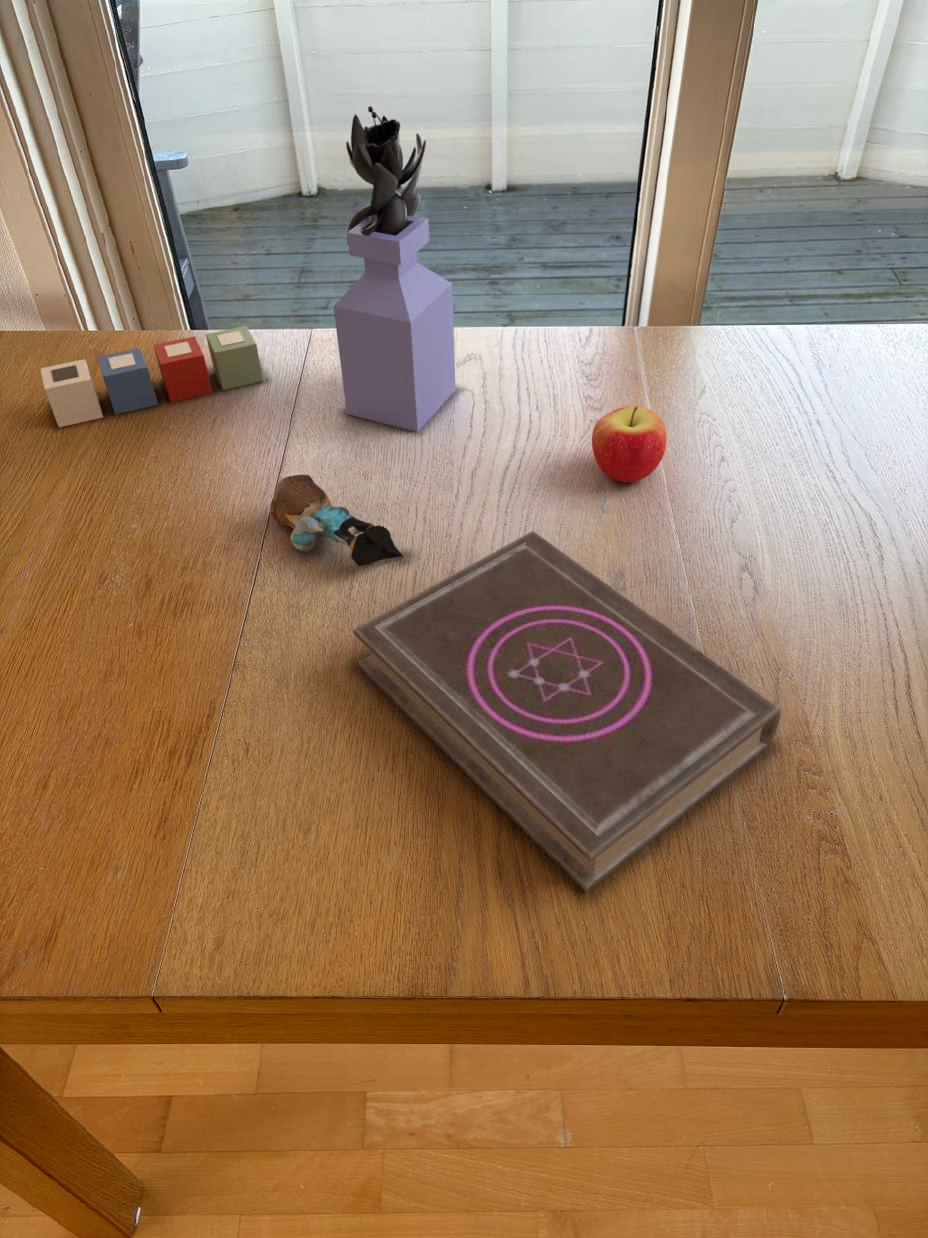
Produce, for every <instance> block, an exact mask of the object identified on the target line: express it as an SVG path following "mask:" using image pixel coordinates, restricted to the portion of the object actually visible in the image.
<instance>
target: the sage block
mask: <svg viewBox="0 0 928 1238" xmlns="http://www.w3.org/2000/svg"><path fill="white" fill-rule="evenodd" d="M205 336H206V341H207V346H208V349H209V353H210V354H209V355H210V359H211V364H212V367H213V372H214V374H215V377H216V378H217V381H218V383H219V384H220V387H221V389H222V391H226V390H231V389H235V388H239V387H244V386H248V385H252V384H258V383H261V382H264V378H263V377H264V376H263V371H262V365H261V361H260V356H259V350H258V346H257V342H256V341H255V339H254V337H253V335H252V333H251V332H250V330H249V328H248V326H247V325H243V326H238V327H234V328H229V329H223V330H219V331H214V332H210V333H206V334H205Z"/></svg>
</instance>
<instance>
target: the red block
mask: <svg viewBox="0 0 928 1238" xmlns="http://www.w3.org/2000/svg"><path fill="white" fill-rule="evenodd" d="M152 346H153V349H154V353H155V357H156V360H157V365H158V368H159V372H160V375H161V378H162V382H163V385H164V388H165V391H166V393H167V395H168V399H169V401H170V403H174V402H178V401H182V400H186V399H192V398H196V397H200V396H205V395H209V394H213V388H212V384H211V380H210V379H211V378H210V374H209V372H208V366H207V363H206V359H205V355H204V353H203V352H204V351H203V350H202V348H201V345H200V343H199V341H198V339H197V337H196V336H195V335H194V336H190V337H183V338H180V339H175V340H170V341H165V342H161V343H155V344H153V345H152Z"/></svg>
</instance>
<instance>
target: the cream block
mask: <svg viewBox="0 0 928 1238" xmlns="http://www.w3.org/2000/svg"><path fill="white" fill-rule="evenodd" d="M40 373H41V378H42V384H43V390H44V392H45V395H46V398H47V400H48V403H49V406H50V408H51V410H52V413H53V416H54V419H55V421H56V424H57V427H58V428H63V427H68V426H72V425H76V424H81V423H84V422H89V421H94V420H99V419H102V418H104V415H103V412H102V408H101V404H100V399H99V396H98V393H97V391H96V388H95V385H94V382H93V379H92V376H91V373H90V370H89V367H88V364H87V361H86V359H80V360H79V359H78V360H74V361H69V362H64V363H60V364H56V365H51V366H46V367H45V366H44V367H41V368H40Z"/></svg>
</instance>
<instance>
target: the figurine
mask: <svg viewBox="0 0 928 1238" xmlns="http://www.w3.org/2000/svg"><path fill="white" fill-rule="evenodd" d="M269 509H270V510H269V511H270V512H269V514H270V518H271V520H273V521H274V522H276V523H277V524H281V525H286V526H289V527H290V528H292V529H293V530H292V532H291V535H290V541H291V544H292V545H293V547H294V548H295V549H297V550H298V551H302V552H309V551H311V550H312V549H314V548H315V547H316V545H317V543H318V540H319V537H324V538H329V539H331V540H332V541H334V542H336V543H341V544H342V545H344V544H345V545H347V546H348V548H349V549H350V550H351V554H350V559H352V560H353V562H354V565H355V567H364V566H368V565H371V564H374V563H377V562H380V561H383V560H388V559H396V558H404V555H403V553H401V551H400V550H399V548H397V546H396V545H395V543H394V540H393V539H392V538H393V537H392V535H391V532H390V530H389V529H388V528H386V527H385V526H383V525H379V524H378V525H374V524H373V523H371V522H367V521H364V520H360V519H358V518H356V517H355V516H353V515H352V514H350V511H349V509H347V507H344V506H336V507H335V506H332V503H331V500H330V499H329V497H328V495H327V493H326V491H325V490H323V488H321V487H320V486H319V485H317V484H316V483H315V480H313V478H312V477H311V475H309V474H295V475H294V474H293V475H289V476H285V477H284V478H282V479H281V480H280V481H279V482H278V484H277V486H276V488H275V490H274V493H273V496H272V499H271V500H270V506H269ZM357 534H358V535H357Z"/></svg>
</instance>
